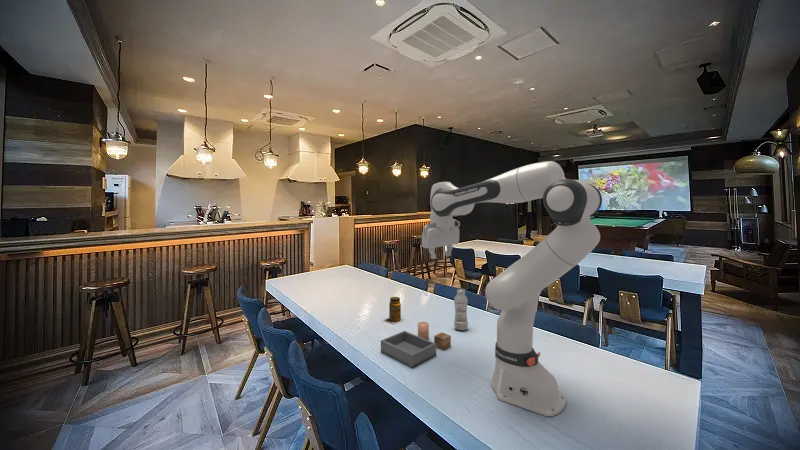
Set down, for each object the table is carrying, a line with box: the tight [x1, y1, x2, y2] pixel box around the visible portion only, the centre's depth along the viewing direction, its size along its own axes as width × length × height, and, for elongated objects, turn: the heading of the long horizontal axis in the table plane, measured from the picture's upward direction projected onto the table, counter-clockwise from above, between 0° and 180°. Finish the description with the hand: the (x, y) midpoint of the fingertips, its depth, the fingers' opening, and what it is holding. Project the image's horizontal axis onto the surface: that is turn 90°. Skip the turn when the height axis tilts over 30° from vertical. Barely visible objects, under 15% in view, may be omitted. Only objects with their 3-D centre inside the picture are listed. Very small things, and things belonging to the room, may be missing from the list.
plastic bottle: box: [453, 287, 469, 331], centre depth 149 cm, size 6×7×20 cm
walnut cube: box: [433, 332, 452, 351], centre depth 132 cm, size 5×5×5 cm
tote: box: [380, 330, 437, 369], centre depth 125 cm, size 18×14×5 cm
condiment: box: [383, 296, 404, 325], centre depth 162 cm, size 7×8×12 cm
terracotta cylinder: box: [417, 321, 430, 341], centre depth 139 cm, size 5×5×7 cm
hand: (440, 257), depth 123 cm, fingers open, 8 cm apart
